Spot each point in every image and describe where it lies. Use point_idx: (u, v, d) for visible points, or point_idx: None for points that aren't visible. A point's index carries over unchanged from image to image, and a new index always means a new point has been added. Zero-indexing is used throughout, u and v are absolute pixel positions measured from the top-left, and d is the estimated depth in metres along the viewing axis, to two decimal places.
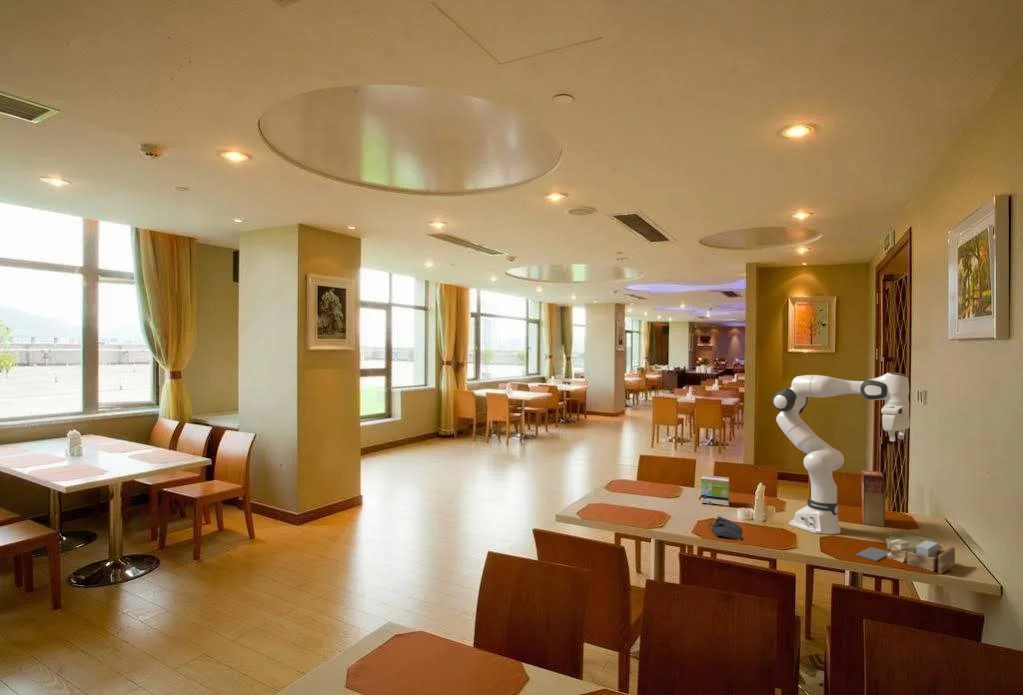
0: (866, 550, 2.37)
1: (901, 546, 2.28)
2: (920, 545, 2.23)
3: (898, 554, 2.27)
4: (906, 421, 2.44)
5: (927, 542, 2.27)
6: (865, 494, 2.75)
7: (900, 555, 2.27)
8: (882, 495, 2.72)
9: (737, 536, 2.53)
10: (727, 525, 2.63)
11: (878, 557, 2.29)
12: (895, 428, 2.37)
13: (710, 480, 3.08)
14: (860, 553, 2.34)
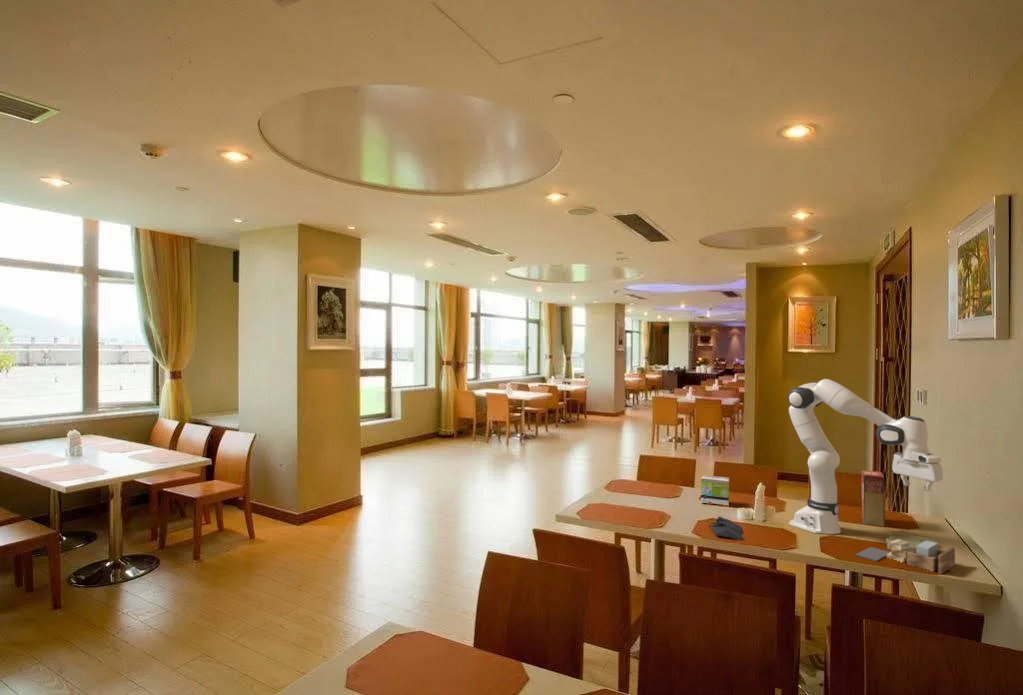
0: (866, 550, 2.37)
1: (901, 547, 2.28)
2: (920, 545, 2.23)
3: (898, 554, 2.27)
4: None
5: (927, 542, 2.27)
6: (865, 494, 2.75)
7: (900, 555, 2.27)
8: (882, 495, 2.72)
9: (737, 536, 2.52)
10: (727, 525, 2.63)
11: (878, 557, 2.29)
12: None
13: (710, 480, 3.08)
14: (860, 553, 2.34)
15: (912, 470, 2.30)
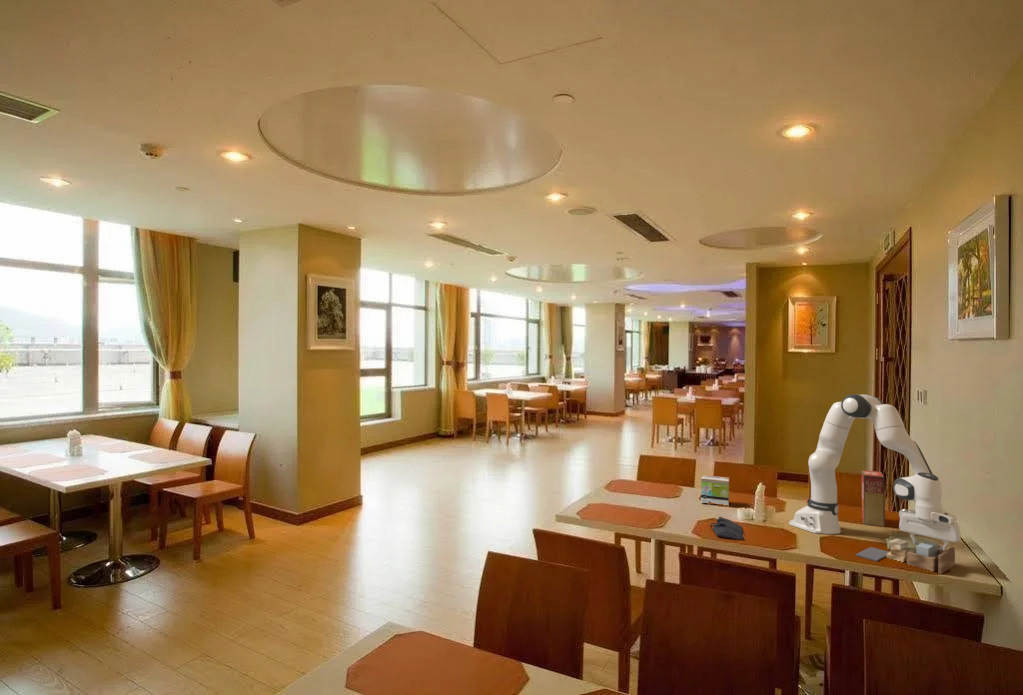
0: (866, 550, 2.37)
1: (901, 546, 2.28)
2: (920, 545, 2.23)
3: (898, 553, 2.28)
4: None
5: (927, 542, 2.27)
6: (865, 494, 2.75)
7: (900, 554, 2.27)
8: (882, 495, 2.72)
9: (738, 536, 2.52)
10: (728, 525, 2.63)
11: (878, 557, 2.29)
12: None
13: (710, 480, 3.08)
14: (860, 553, 2.34)
15: (927, 529, 2.23)
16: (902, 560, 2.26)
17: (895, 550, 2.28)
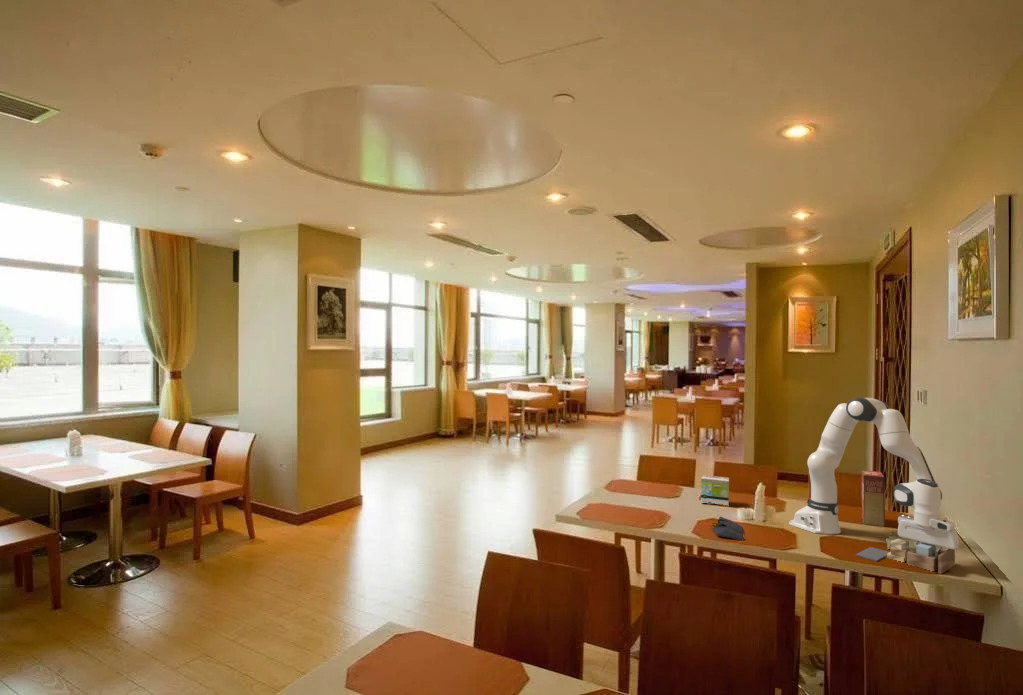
0: (866, 550, 2.37)
1: (902, 546, 2.28)
2: (920, 545, 2.23)
3: (898, 553, 2.28)
4: None
5: None
6: (865, 494, 2.75)
7: (900, 554, 2.27)
8: (882, 495, 2.72)
9: (738, 536, 2.52)
10: (729, 525, 2.62)
11: (878, 557, 2.29)
12: None
13: (710, 480, 3.08)
14: (860, 553, 2.34)
15: (925, 535, 2.23)
16: (902, 560, 2.26)
17: (895, 550, 2.28)
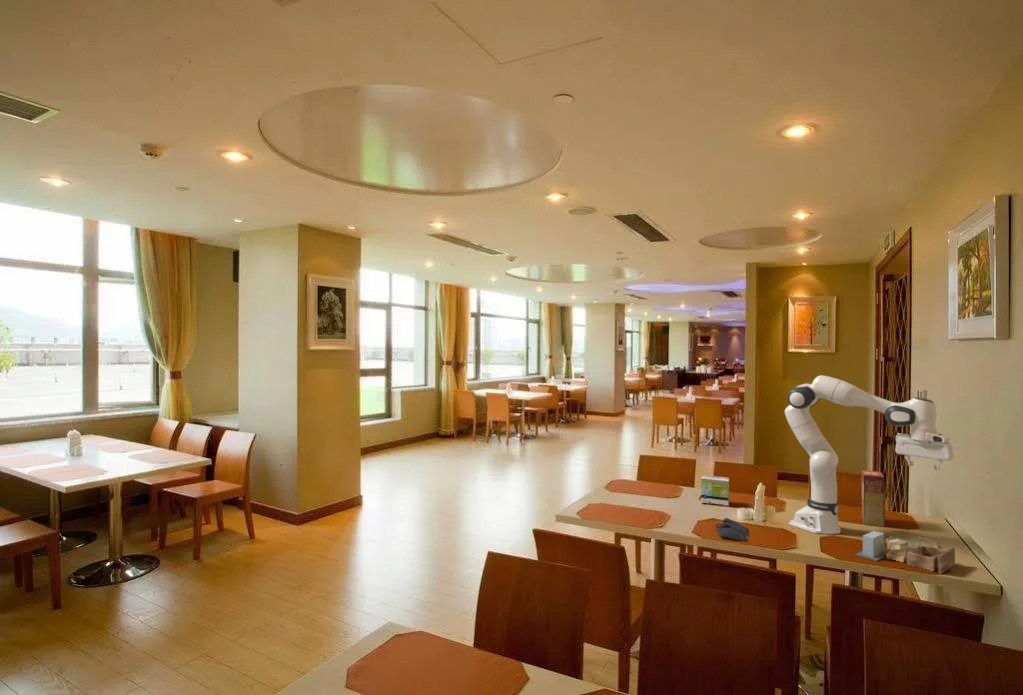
0: None
1: (900, 546, 2.28)
2: (866, 535, 2.33)
3: (898, 553, 2.28)
4: None
5: (874, 532, 2.37)
6: (865, 494, 2.75)
7: (900, 554, 2.27)
8: (882, 495, 2.72)
9: (742, 538, 2.50)
10: (733, 526, 2.61)
11: (878, 557, 2.29)
12: None
13: (710, 480, 3.08)
14: (860, 553, 2.34)
15: (922, 450, 2.35)
16: (902, 560, 2.26)
17: (895, 550, 2.28)
